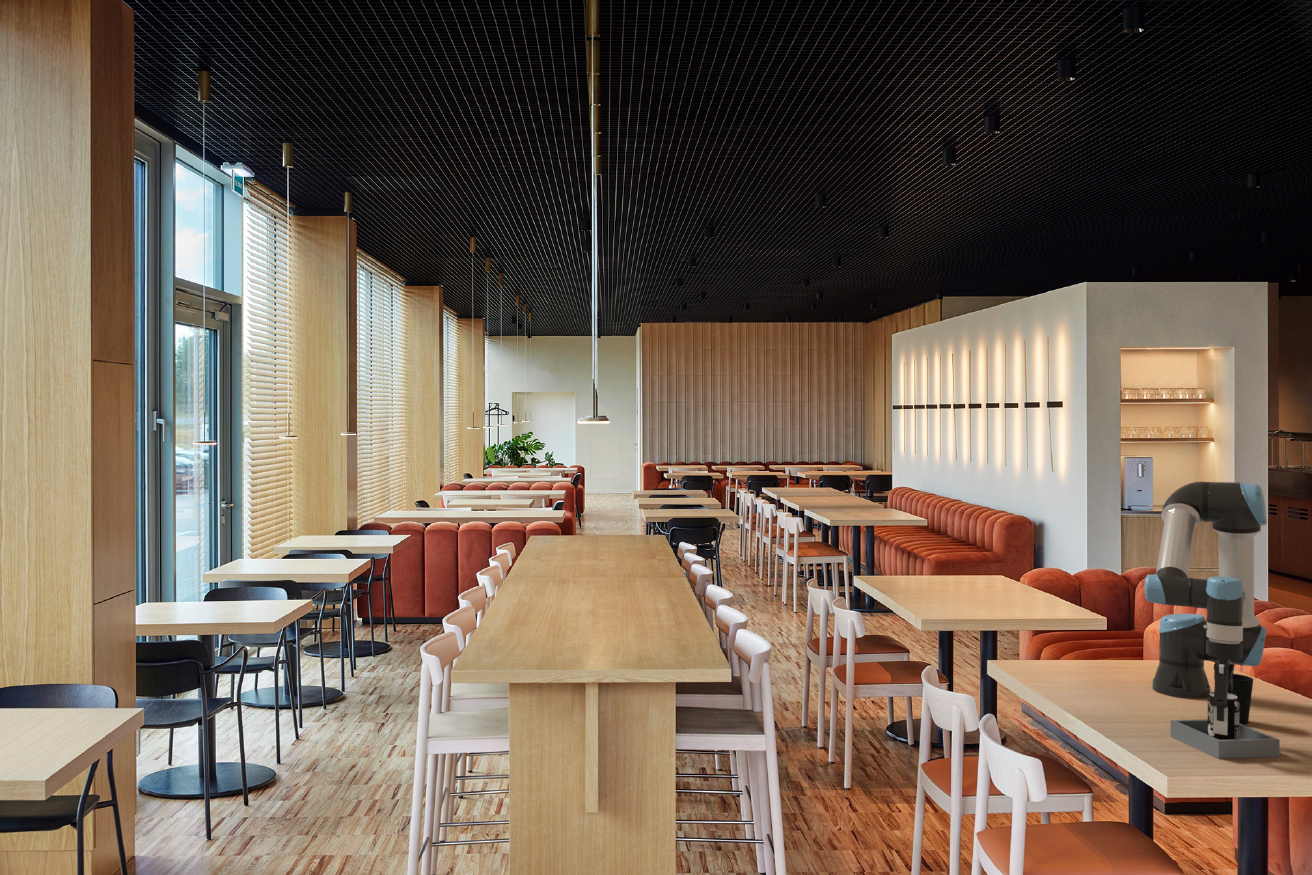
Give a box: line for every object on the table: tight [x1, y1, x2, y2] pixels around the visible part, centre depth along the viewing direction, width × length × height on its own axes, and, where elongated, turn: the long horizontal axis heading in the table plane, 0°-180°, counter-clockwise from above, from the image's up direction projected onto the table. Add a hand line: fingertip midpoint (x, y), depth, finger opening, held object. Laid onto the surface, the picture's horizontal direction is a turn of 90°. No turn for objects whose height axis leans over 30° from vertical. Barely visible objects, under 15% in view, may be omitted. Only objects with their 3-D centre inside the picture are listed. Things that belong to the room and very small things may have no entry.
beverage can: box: [1207, 691, 1240, 740], centre depth 216 cm, size 7×7×12 cm
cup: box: [1233, 673, 1254, 726], centre depth 237 cm, size 8×8×12 cm
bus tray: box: [1170, 718, 1280, 760], centre depth 216 cm, size 16×16×4 cm
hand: (1223, 726), depth 216 cm, fingers open, 13 cm apart
